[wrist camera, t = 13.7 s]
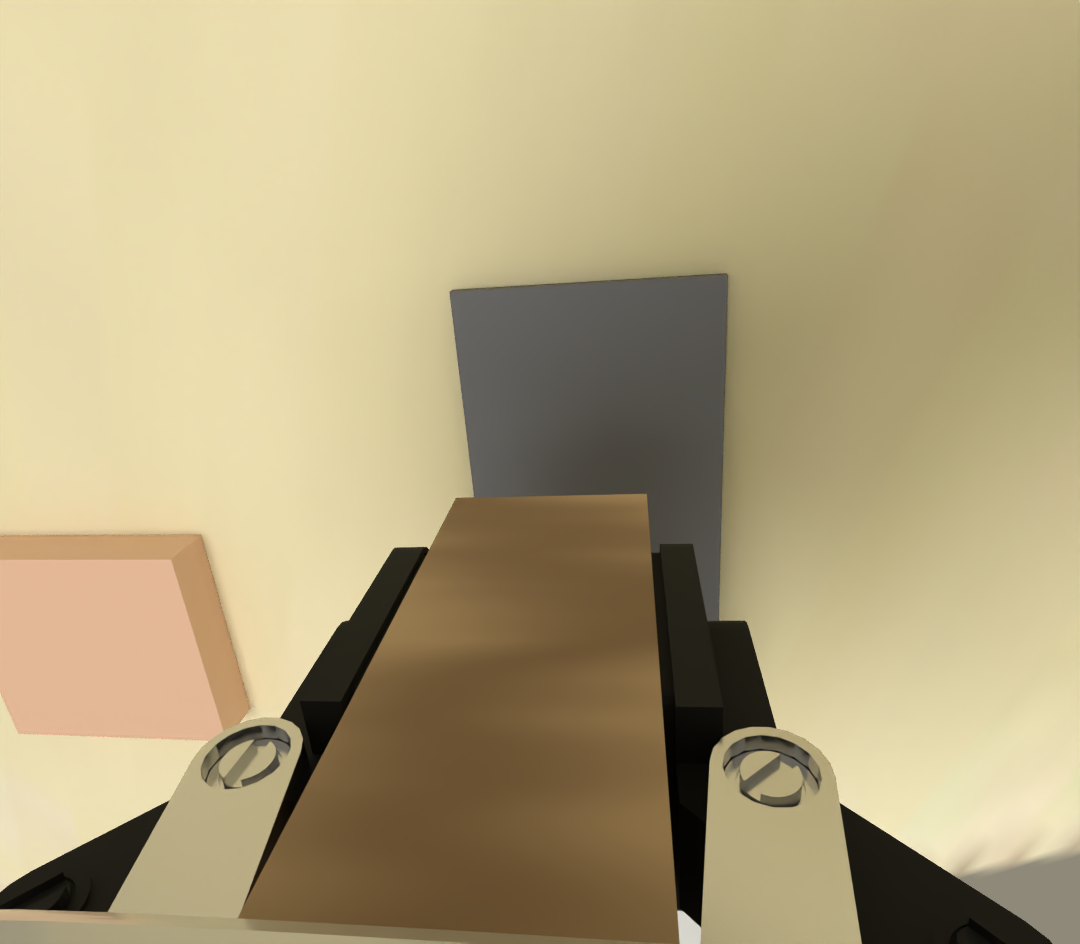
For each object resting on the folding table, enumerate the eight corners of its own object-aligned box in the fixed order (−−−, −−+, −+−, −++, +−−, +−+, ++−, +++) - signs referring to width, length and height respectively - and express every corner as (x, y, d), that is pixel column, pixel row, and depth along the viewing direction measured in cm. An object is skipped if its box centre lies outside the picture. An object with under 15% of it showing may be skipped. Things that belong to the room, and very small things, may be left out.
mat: (725, 273, 20) (727, 275, 20) (714, 716, 26) (715, 724, 26) (452, 290, 21) (449, 291, 21) (503, 711, 27) (501, 718, 27)
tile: (170, 559, 24) (226, 741, 27) (206, 529, 26) (255, 701, 29) (-60, 559, 25) (18, 733, 28) (-8, 530, 27) (60, 695, 30)
